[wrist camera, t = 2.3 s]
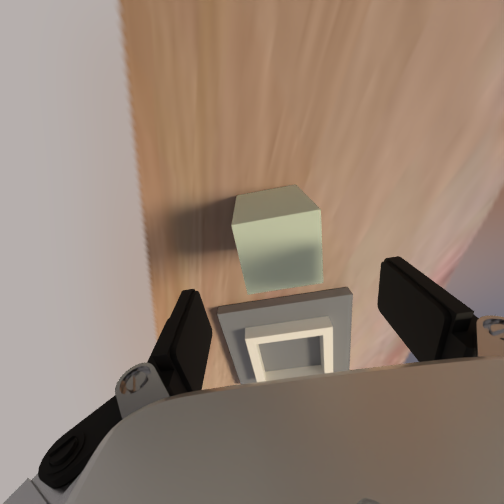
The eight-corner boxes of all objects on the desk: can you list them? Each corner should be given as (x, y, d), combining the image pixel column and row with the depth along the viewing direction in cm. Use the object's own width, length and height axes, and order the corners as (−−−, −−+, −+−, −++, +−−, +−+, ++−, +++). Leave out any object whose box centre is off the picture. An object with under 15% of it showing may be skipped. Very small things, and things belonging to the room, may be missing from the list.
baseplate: (218, 306, 24) (215, 325, 22) (347, 286, 23) (359, 304, 21) (243, 382, 31) (243, 403, 28) (345, 369, 30) (353, 389, 27)
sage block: (236, 195, 19) (231, 225, 12) (295, 184, 18) (320, 209, 12) (247, 247, 21) (247, 294, 15) (300, 238, 21) (323, 283, 14)
